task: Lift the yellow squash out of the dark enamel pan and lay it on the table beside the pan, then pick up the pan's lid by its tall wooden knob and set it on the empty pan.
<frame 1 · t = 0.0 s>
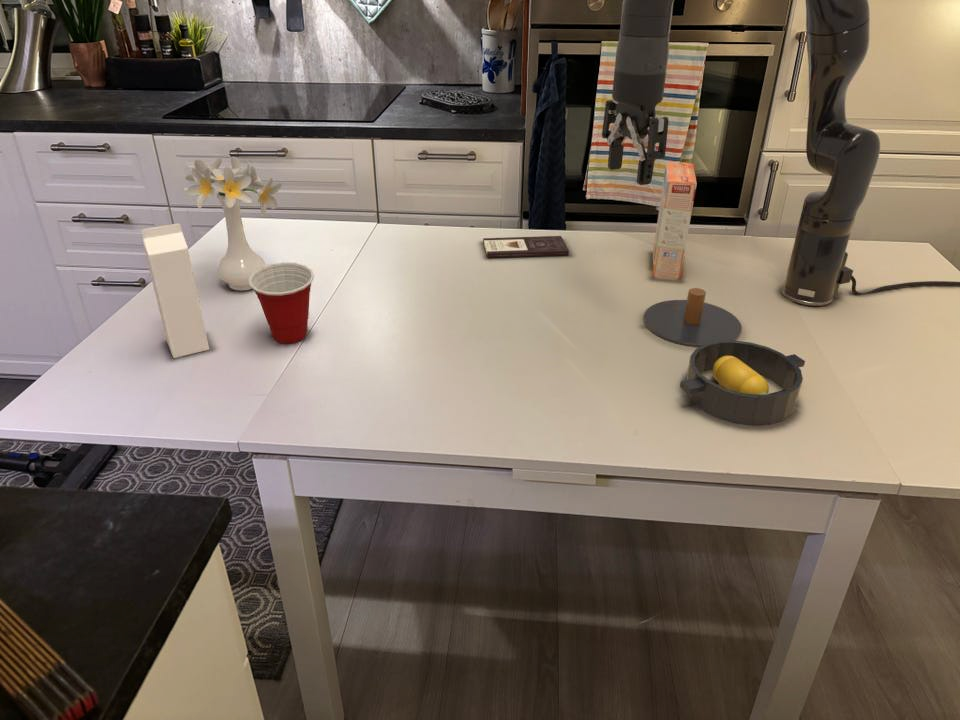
hand: (628, 176, 117), 29 cm above the table, tool pointing down, fingers open, 8 cm apart
pan: (738, 396, 116), on the table
flower vase: (248, 284, 150), on the table
plastic cup: (290, 337, 131), on the table
milk: (188, 347, 128), on the table
cracker box: (666, 268, 158), on the table
lid: (691, 323, 135), point 1 cm above the table
chocolate bar: (525, 249, 166), on the table
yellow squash: (739, 394, 116), resting on pan
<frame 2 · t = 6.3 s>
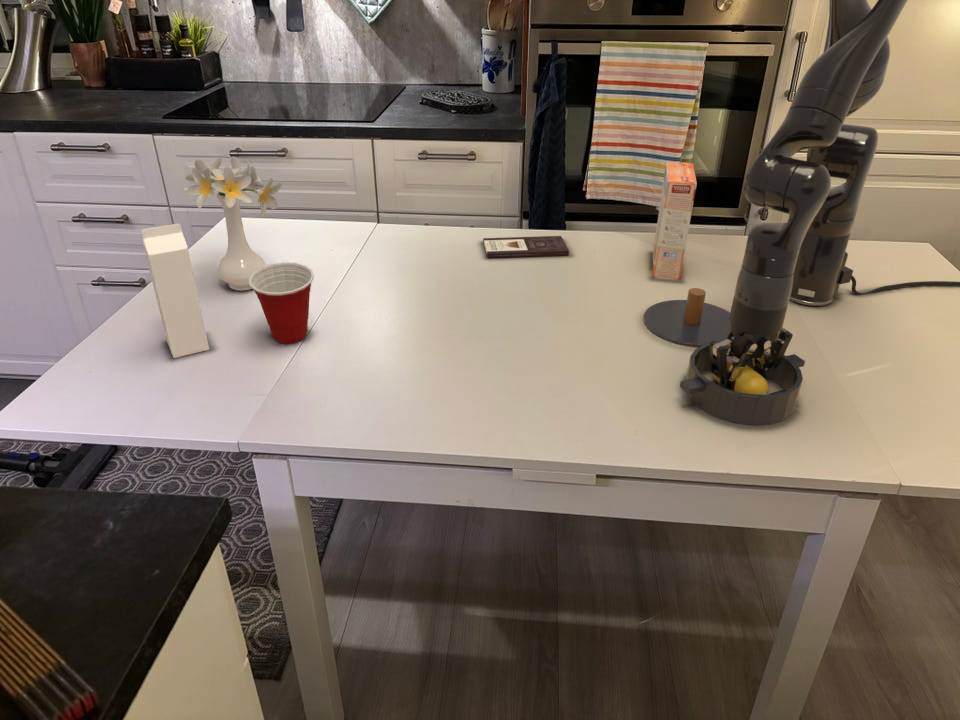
hand: (739, 393, 116), 1 cm above the table, tool pointing down, fingers closed on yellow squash, 5 cm apart
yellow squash: (739, 394, 116), point 1 cm above the table, touching gripper, pan
everything else where it was.
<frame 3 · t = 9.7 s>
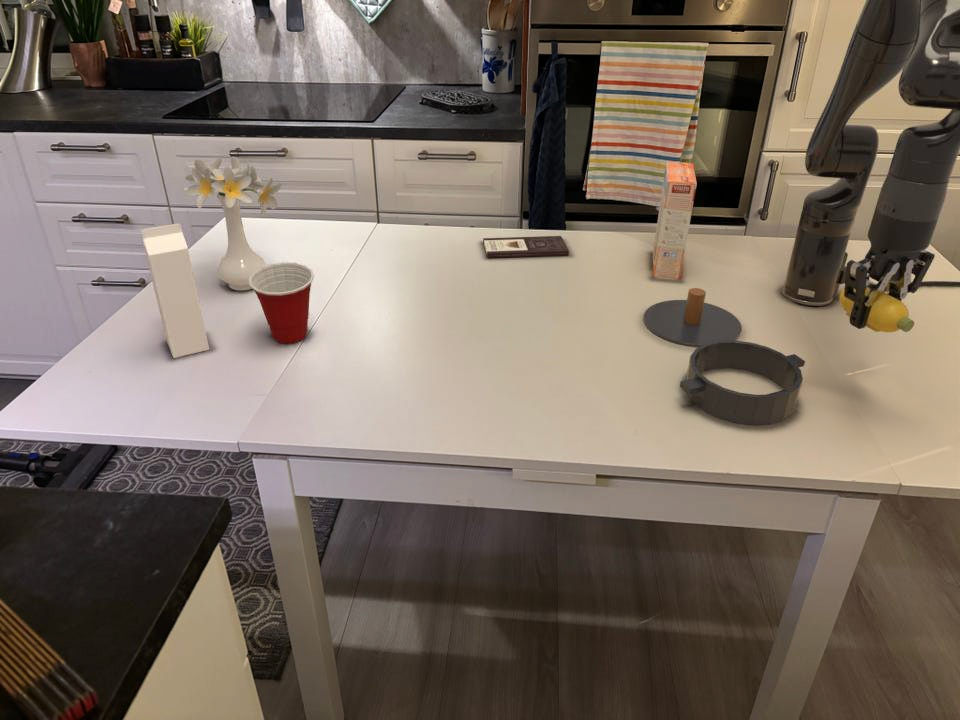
hand: (871, 322, 106), 15 cm above the table, tool pointing down, fingers closed on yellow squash, 5 cm apart
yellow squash: (871, 323, 106), point 15 cm above the table, touching gripper
everything else where it was.
when the fingers open (0 cm above the table, at t = 13.6 s): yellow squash stays where it is, on the table.
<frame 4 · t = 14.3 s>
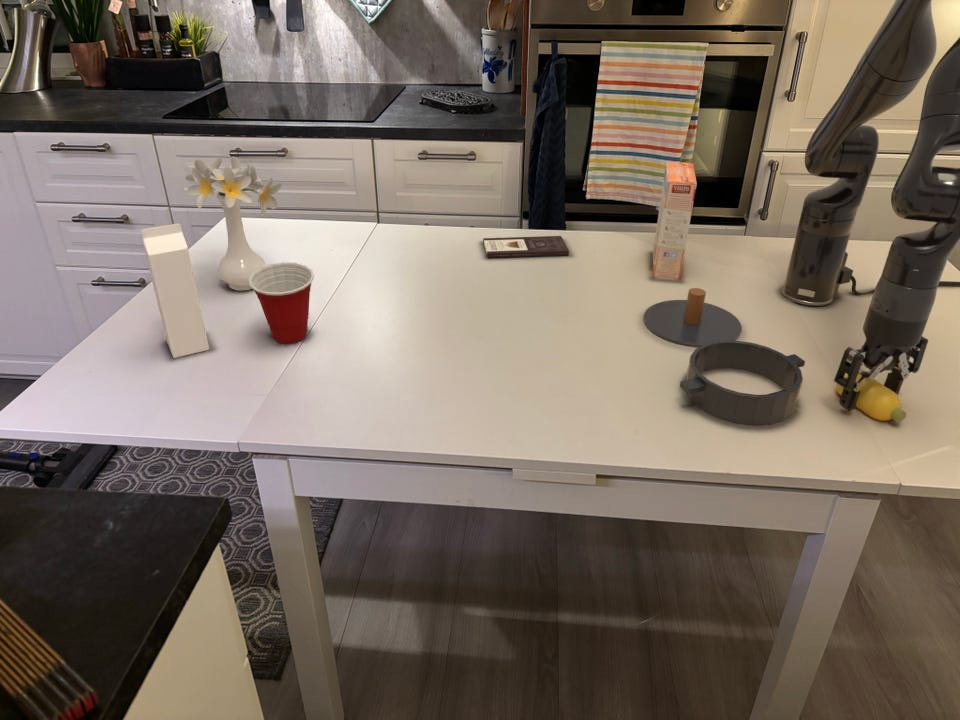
hand: (867, 402, 113), 1 cm above the table, tool pointing down, fingers open, 8 cm apart
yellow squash: (866, 409, 113), on the table
everything else where it was.
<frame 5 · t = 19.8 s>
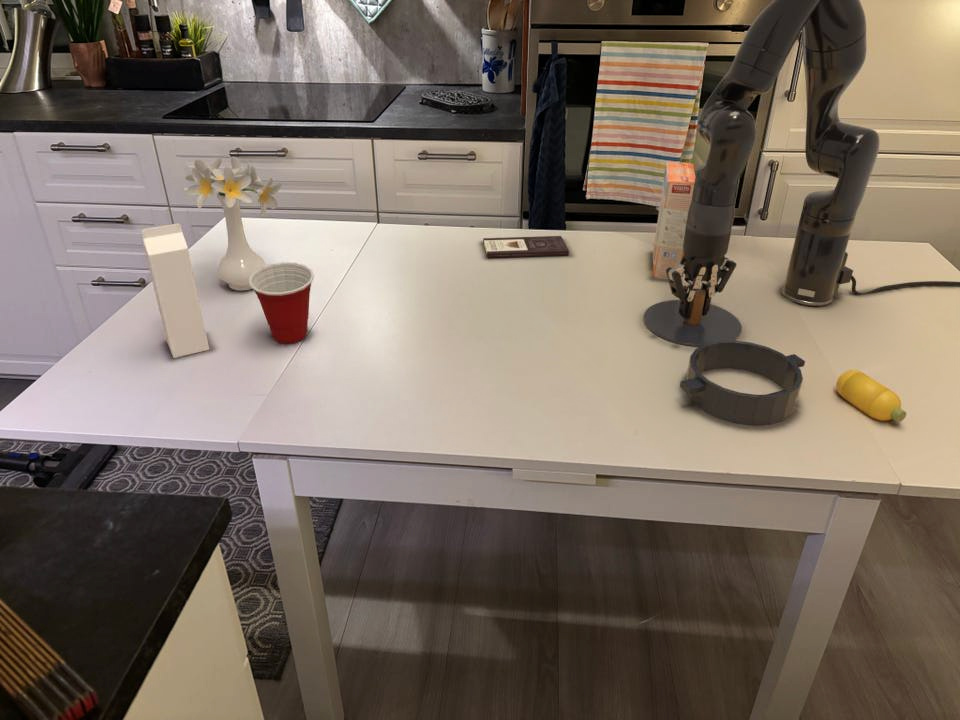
hand: (693, 315, 134), 2 cm above the table, tool pointing down, fingers closed on lid, 3 cm apart
lid: (691, 323, 135), point 1 cm above the table, touching gripper
everything else where it was.
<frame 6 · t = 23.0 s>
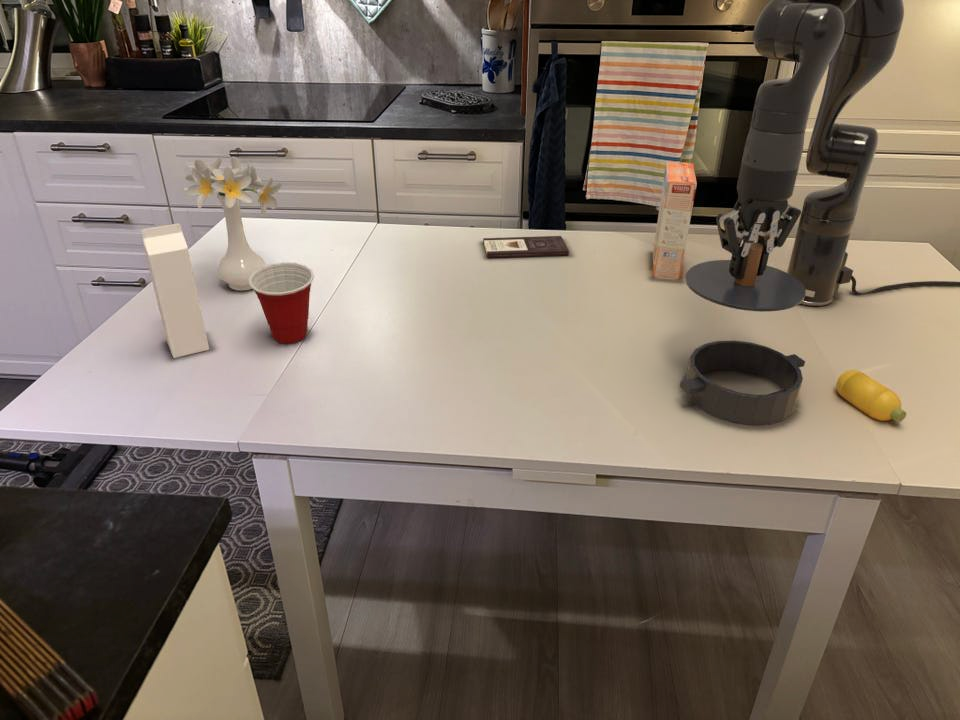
hand: (746, 274, 111), 18 cm above the table, tool pointing down, fingers closed on lid, 3 cm apart
lid: (743, 285, 112), point 17 cm above the table, touching gripper
everything else where it was.
when the fingers open (7 cm above the table, at t = 26.3 s): lid stays where it is, resting on pan.
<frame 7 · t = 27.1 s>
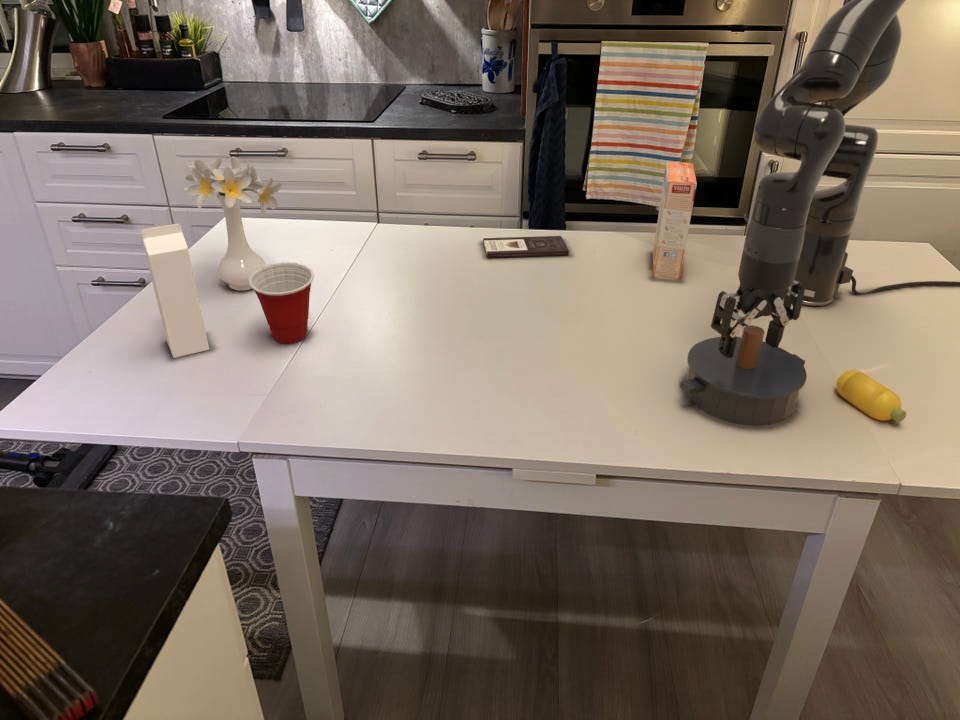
hand: (749, 350, 112), 8 cm above the table, tool pointing down, fingers open, 8 cm apart
lid: (745, 367, 113), point 5 cm above the table, touching pan
everything else where it was.
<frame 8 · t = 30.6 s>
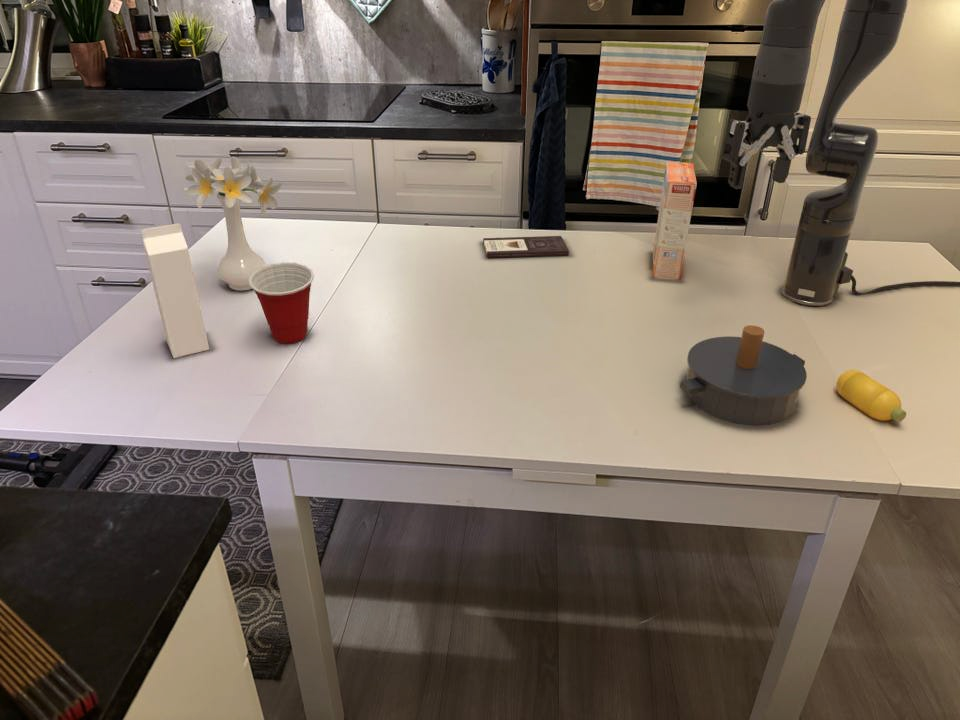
hand: (757, 184, 117), 28 cm above the table, tool pointing down, fingers open, 8 cm apart
nothing on the table moved.
at the end: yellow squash inside the target area (0.1 cm from its centre), on the table; lid 0.0 cm off-centre on the pan, point 5.5 cm above the pan's base; lid tilted 0° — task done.
